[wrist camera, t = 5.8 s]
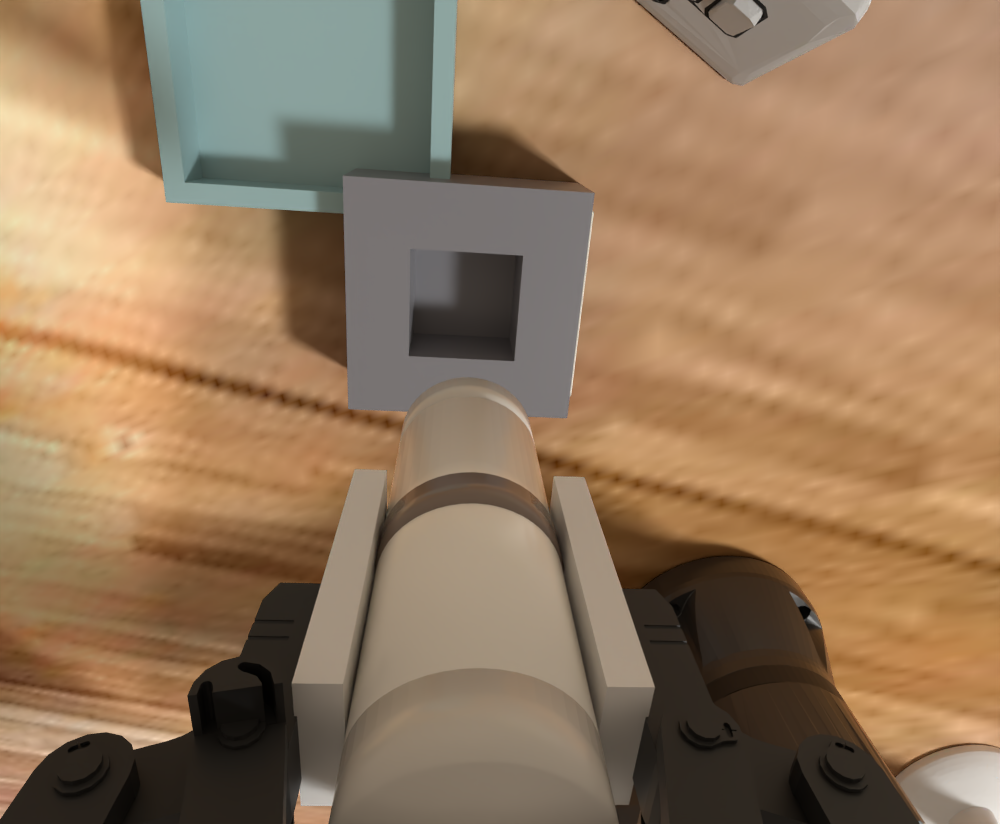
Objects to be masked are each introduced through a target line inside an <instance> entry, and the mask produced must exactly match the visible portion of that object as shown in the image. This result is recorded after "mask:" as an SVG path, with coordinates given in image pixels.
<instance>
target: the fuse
mask: <svg viewBox="0 0 1000 824" xmlns="http://www.w3.org/2000/svg"><path fill="white" fill-rule="evenodd" d="M329 824H619V821H618V816H617V812H616V807H615V803H614V798H613V794H612V789H611V785H610V780H609V776H608V771H607V767H606V762H605V758H604V753H603V749H602V745H601V740H600V736H599V731H598V727H597V722H596V718H595V713H594V709H593V704H592V700H591V695H590V691H589V686H588V682H587V677H586V673H585V668H584V664H583V659H582V655H581V650H580V646H579V642H578V637H577V633H576V628H575V624H574V619H573V615H572V610H571V606H570V601H569V597H568V592H567V588H566V583H565V579H564V564H563V559H562V555H561V550H560V546H559V542H558V537H557V533H556V529H555V526H554V523H553V521H552V518H551V516H550V512H549V507H548V503H547V498H546V494H545V489H544V485H543V480H542V476H541V471H540V467H539V462H538V458H537V453H536V449H535V444H534V440H533V436H532V431H531V427H530V423H529V419H528V416H527V414H526V411H525V410H524V408H523V406H522V405H521V403H520V402H519V401H518V400H517V398H516V397H515V396H514V395H513V394H511V393H510V392H509V391H508V390H506V389H505V388H503V387H502V386H500V385H498V384H496V383H493V382H491V381H488V380H484V379H480V378H472V377H461V378H454V379H450V380H446V381H443V382H440V383H438V384H436V385H434V386H432V387H430V388H429V389H427V390H426V391H425V392H423V393H422V394H421V395H420V396H419V397H418V398H417V399H416V400H415V401H414V403H413V404H412V405H411V407H410V409H409V410H408V412H407V415H406V417H405V420H404V424H403V428H402V434H401V439H400V444H399V450H398V455H397V460H396V466H395V471H394V476H393V482H392V487H391V492H390V498H389V503H388V508H387V514H386V519H385V522H384V525H383V527H382V531H381V535H380V541H379V546H378V551H377V556H376V561H375V578H374V583H373V589H372V594H371V600H370V605H369V610H368V616H367V621H366V626H365V632H364V637H363V642H362V648H361V653H360V658H359V664H358V669H357V674H356V680H355V685H354V691H353V696H352V701H351V707H350V712H349V717H348V723H347V728H346V733H345V739H344V744H343V749H342V755H341V760H340V766H339V771H338V776H337V782H336V787H335V792H334V798H333V803H332V808H331V814H330V819H329Z"/></svg>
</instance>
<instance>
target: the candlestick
mask: <svg viewBox="0 0 1000 824" xmlns="http://www.w3.org/2000/svg"><path fill="white" fill-rule="evenodd" d="M895 778H896V780H897V781H898V783H899V784H900V786H901V787H902V789H903V790H904V792H905V793H906V795H907V797H908V798H909V800H910V801H911V803H912V804H913V806H914V807H915V809H916V810H917V812H918V813H919V815H920V816H921V818H922V819H923V821H924V822H925V824H1000V748H997V747H993V746H987V745H963V746H956V747H951V748H947V749H944V750H940V751H938V752H935V753H932V754H930V755H927V756H925V757H923V758H921V759H920V760H918V761H916V762H914V763H913V764H911V765H910V766H908V767H907V768H906V769H904V770H903V771H902V772H901V773H899V774H898V775H897V776H896V777H895Z"/></svg>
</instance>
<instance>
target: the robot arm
mask: <svg viewBox="0 0 1000 824" xmlns="http://www.w3.org/2000/svg"><path fill="white" fill-rule="evenodd" d="M386 514H387V470H366V469H355V470H354V474H353V477H352V480H351V484H350V487H349V491H348V494H347V497H346V501H345V504H344V508H343V511H342V514H341V518H340V521H339V525H338V528H337V531H336V535H335V538H334V542H333V545H332V548H331V552H330V555H329V558H328V562H327V565H326V569H325V572H324V575H323V579H322V582H321V584H313V583H280V584H279V585H278V586H276V587H275V588H274V589H273V590H272V591H271V592H270V593H269V594H268V595H267V596H266V597H265V598H264V599H263V600H262V603H261V605H260V608H259V610H258V613H257V615H256V618H255V623H253V625H252V628H251V630H250V633H249V635H248V640H246V643H245V645H244V647H243V650H242V652H241V655H240V657H236V658H232V659H228V660H224V661H221V662H220V663H218V664H216V665H214V666H212V667H211V668H209V669H207V670H205V671H204V672H203V673H202V674H201V675H200V676H199V677H198V678H197V679H196V680H195V681H194V683H193V685H192V687H191V689H190V691H189V694H188V702H189V708H190V715H191V721H192V727H193V731H191V732H189V733H187V734H185V735H183V736H181V737H178V738H175V739H172V740H169V741H166V742H162V743H158V744H155V745H151V746H147V747H143V748H139V749H136V750H133V747H132V744H131V743H129V742H128V741H127V740H126V739H125V738H124V737H123V736H120V735H116V734H111V733H107V732H106V733H97V734H89V735H85V736H82V737H80V738H77V739H75V740H72V741H69V742H67V743H65V744H64V745H62V746H61V747H59V748H58V749H56V750H55V751H53V752H52V753H50V754H49V755H48V756H47V757H46V758H45V759H44V760H43V761H42V762H41V763H40V764H39V765H38V767H37V768H36V769H35V770H34V771H33V773H32V774H31V775H30V777H29V778H28V780H27V781H26V783H25V784H24V786H23V787H22V789H21V790H20V791H19V793H18V794H17V796H16V797H15V799H14V800H13V802H12V803H11V804H10V806H9V807H8V809H7V810H6V812H5V813H4V815H3V816H2V818H1V819H0V824H294V810H295V806H296V801H297V797H298V793H299V789H300V800H301V806H332V803H333V798H334V792H335V787H336V782H337V776H338V771H339V766H340V760H341V755H342V749H343V744H344V739H345V733H346V728H347V723H348V717H349V712H350V707H351V701H352V696H353V691H354V685H355V680H356V674H357V669H358V664H359V658H360V653H361V648H362V642H363V637H364V632H365V626H366V621H367V616H368V610H369V605H370V600H371V594H372V589H373V583H374V578H375V561H376V556H377V551H378V546H379V541H380V535H381V531H382V527H383V525H384V522H385V519H386ZM550 516H551V518H552V521H553V523H554V526H555V529H556V533H557V537H558V542H559V546H560V550H561V555H562V559H563V564H564V579H565V583H566V588H567V592H568V597H569V601H570V606H571V610H572V615H573V619H574V624H575V628H576V633H577V637H578V642H579V646H580V650H581V655H582V659H583V664H584V668H585V673H586V677H587V682H588V686H589V691H590V695H591V700H592V704H593V709H594V713H595V718H596V722H597V727H598V731H599V736H600V740H601V745H602V749H603V753H604V758H605V762H606V767H607V771H608V776H609V780H610V785H611V789H612V794H613V798H614V803H615V807H616V812H617V816H618V821H619V824H925V822H924V821H923V819H922V818H921V816H920V815H919V813H918V812H917V810H916V809H915V807H914V806H913V804H912V803H911V801H910V800H909V798H908V797H907V795H906V793H905V792H904V790H903V789H902V787H901V786H900V784H899V783H898V781H897V780H896V778H895V777H894V775H893V774H892V772H891V771H890V769H889V768H888V766H887V765H886V763H885V762H884V760H883V759H882V757H881V756H880V754H879V753H878V751H877V750H876V748H875V747H874V745H873V744H872V742H871V741H870V739H869V738H868V736H867V735H866V733H865V732H864V730H863V729H862V727H861V725H860V724H859V722H858V721H857V719H856V718H855V716H854V715H853V713H852V712H851V710H850V709H849V707H848V706H847V705H846V703H845V701H844V700H843V698H842V697H841V695H840V694H839V692H838V691H837V689H836V687H835V685H834V680H833V676H832V671H831V667H830V662H829V658H828V653H827V649H826V644H825V640H824V635H823V631H822V626H821V623H820V620H819V618H818V615H817V613H816V611H815V609H814V608H813V606H812V604H811V603H810V602H809V600H808V599H807V597H806V596H805V594H804V593H803V592H802V590H801V589H800V587H799V586H798V585H797V583H796V582H795V581H794V580H793V579H792V578H791V577H790V576H789V575H787V574H786V573H785V572H783V571H782V570H780V569H779V568H777V567H775V566H773V565H771V564H768V563H766V562H763V561H760V560H756V559H752V558H746V557H737V556H720V557H711V558H705V559H700V560H696V561H692V562H689V563H686V564H683V565H680V566H678V567H676V568H673V569H671V570H669V571H667V572H665V573H663V574H662V575H660V576H658V577H657V578H655V579H654V580H652V581H651V582H650V583H648V584H647V585H646V586H644V587H643V588H642V589H622V588H621V585H620V582H619V579H618V576H617V573H616V570H615V567H614V564H613V561H612V558H611V555H610V552H609V549H608V546H607V543H606V540H605V537H604V534H603V531H602V528H601V525H600V522H599V519H598V516H597V513H596V510H595V507H594V504H593V501H592V498H591V495H590V492H589V489H588V486H587V483H586V480H585V477H565V476H554V479H553V487H552V496H551V504H550Z"/></svg>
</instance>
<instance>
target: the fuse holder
mask: <svg viewBox="0 0 1000 824" xmlns="http://www.w3.org/2000/svg"><path fill="white" fill-rule="evenodd" d="M594 194H595V193H594V192H592V191H591V190H589V189H587V188H586V187H584V186H583V185H581V184H579V183H575V182H561V181H547V180H532V179H518V178H503V177H489V176H475V175H460V174H451V176H450V179H439V178H430V173H417V172H403V171H388V170H374V169H359V168H356V169H354V170H352V171H350V172H349V173H347V174H345V175H343V209H344V250H345V291H346V331H347V372H348V409H359V410H383V411H407V412H408V410H409V409H410V407H411V405H412V404H413V403H414V401H415V400H416V399H417V398H418V397H419V396H420V395H421V394H422V393H423V392H425V391H426V390H427V389H429V388H430V387H432V386H434V385H436V384H438V383H440V382H443V381H446V380H450V379H454V378H461V377H472V378H480V379H484V380H488V381H491V382H493V383H496V384H498V385H500V386H502V387H503V388H505V389H506V390H508V391H509V392H510V393H511V394H513V395H514V396H515V397H516V398H517V400H518V401H519V402H520V403H521V405H522V406H523V408H524V410H525V411H526V414H527V416H528V417H551V418H567V415H568V406H569V398H570V396H571V392H572V384H573V376H574V368H575V360H576V352H577V344H578V336H579V327H580V319H581V311H582V303H583V295H584V287H585V279H586V271H587V262H588V254H589V246H590V238H591V230H592V222H593V214H594V212H593V211H592V210H593V202H594Z"/></svg>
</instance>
